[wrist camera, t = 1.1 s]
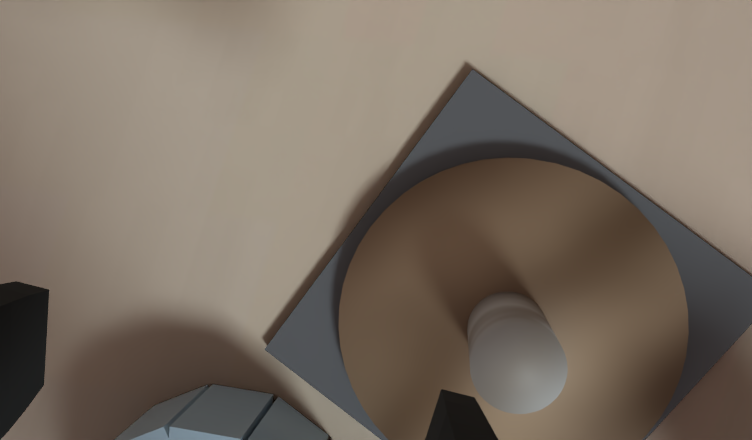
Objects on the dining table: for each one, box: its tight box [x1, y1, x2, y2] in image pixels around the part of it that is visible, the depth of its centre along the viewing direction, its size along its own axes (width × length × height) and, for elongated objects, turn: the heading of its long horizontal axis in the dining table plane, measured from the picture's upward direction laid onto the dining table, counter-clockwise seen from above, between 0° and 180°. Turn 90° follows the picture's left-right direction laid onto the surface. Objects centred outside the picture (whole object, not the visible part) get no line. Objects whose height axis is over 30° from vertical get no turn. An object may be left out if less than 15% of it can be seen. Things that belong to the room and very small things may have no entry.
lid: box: [339, 158, 689, 440], centre depth 21 cm, size 13×13×5 cm
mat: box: [265, 69, 752, 440], centre depth 24 cm, size 14×14×1 cm
